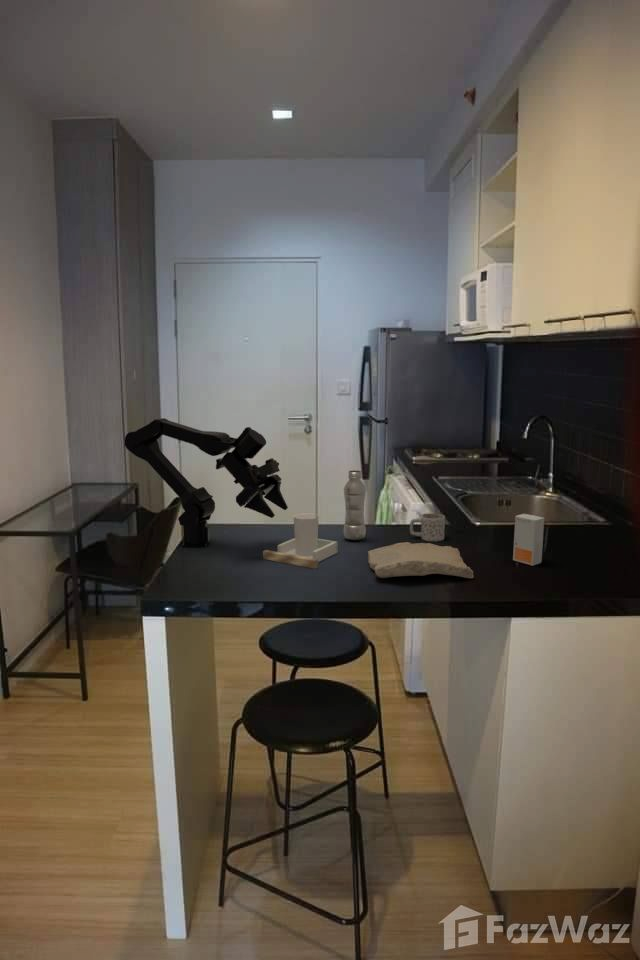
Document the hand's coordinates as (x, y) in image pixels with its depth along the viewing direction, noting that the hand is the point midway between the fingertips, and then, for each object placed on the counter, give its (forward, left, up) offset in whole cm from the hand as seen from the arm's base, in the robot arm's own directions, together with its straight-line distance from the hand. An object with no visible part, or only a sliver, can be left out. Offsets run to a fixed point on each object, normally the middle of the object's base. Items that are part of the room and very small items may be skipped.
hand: (280, 512), depth 179 cm
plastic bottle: (+20, +13, -11) cm, 26 cm away
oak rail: (+3, -9, -11) cm, 15 cm away
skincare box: (+64, -7, -11) cm, 66 cm away
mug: (+41, +15, -11) cm, 45 cm away
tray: (+7, -2, -11) cm, 13 cm away
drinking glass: (+7, -2, -11) cm, 13 cm away
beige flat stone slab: (+35, -15, -12) cm, 40 cm away
